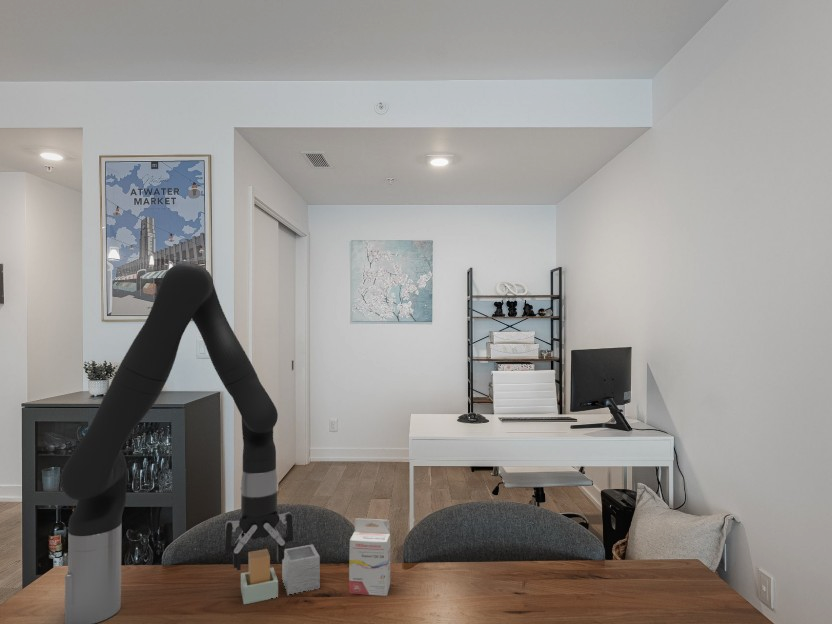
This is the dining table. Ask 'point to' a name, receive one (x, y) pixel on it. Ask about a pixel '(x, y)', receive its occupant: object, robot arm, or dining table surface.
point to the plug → (258, 567)
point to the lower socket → (259, 589)
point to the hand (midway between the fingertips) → (259, 565)
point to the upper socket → (301, 569)
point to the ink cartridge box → (370, 558)
